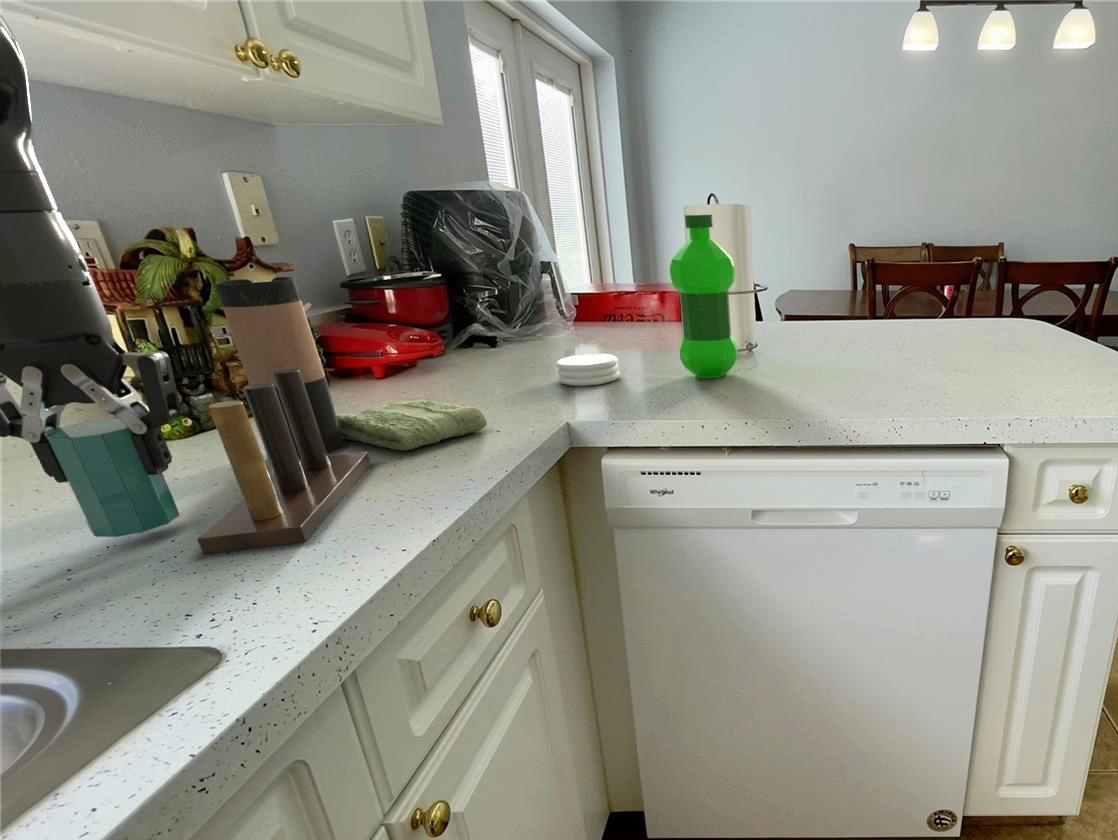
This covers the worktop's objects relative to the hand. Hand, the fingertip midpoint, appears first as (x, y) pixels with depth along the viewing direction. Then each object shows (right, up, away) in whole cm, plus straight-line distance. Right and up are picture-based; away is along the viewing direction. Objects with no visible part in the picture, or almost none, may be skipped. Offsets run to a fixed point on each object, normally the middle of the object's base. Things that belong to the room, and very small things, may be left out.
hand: (115, 475), depth 63 cm
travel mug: (0, +5, +26) cm, 26 cm away
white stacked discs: (+25, +21, +57) cm, 66 cm away
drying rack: (+10, -2, +9) cm, 14 cm away
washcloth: (+9, +8, +31) cm, 33 cm away
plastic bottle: (+46, +22, +58) cm, 77 cm away
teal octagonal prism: (0, -4, +2) cm, 5 cm away
